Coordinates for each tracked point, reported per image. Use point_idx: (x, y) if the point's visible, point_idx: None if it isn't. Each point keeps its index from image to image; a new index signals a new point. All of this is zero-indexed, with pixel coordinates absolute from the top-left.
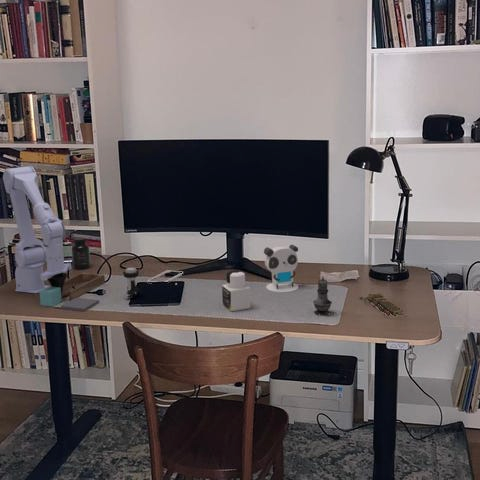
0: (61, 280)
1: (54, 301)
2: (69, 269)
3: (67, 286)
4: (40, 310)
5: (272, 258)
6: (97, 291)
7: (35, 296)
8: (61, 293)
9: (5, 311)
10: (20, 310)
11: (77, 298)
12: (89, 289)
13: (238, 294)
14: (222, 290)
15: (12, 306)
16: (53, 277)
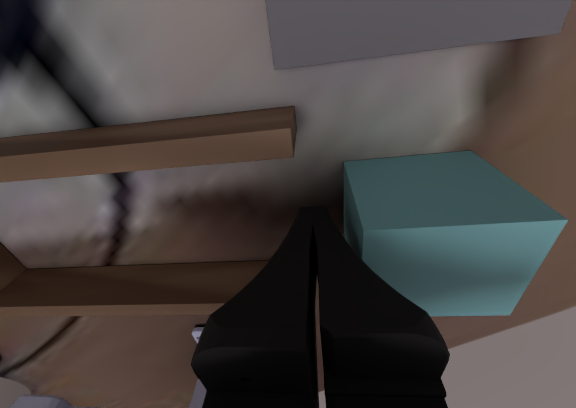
0: (338, 292)
1: (443, 166)
2: (56, 401)
3: (143, 275)
4: (567, 168)
5: None
6: (11, 57)
7: (319, 313)
8: (307, 210)
9: (564, 307)
10: (553, 265)
11: (294, 30)
12: (55, 134)
13: None
14: None
15: (480, 318)
16: (440, 398)
